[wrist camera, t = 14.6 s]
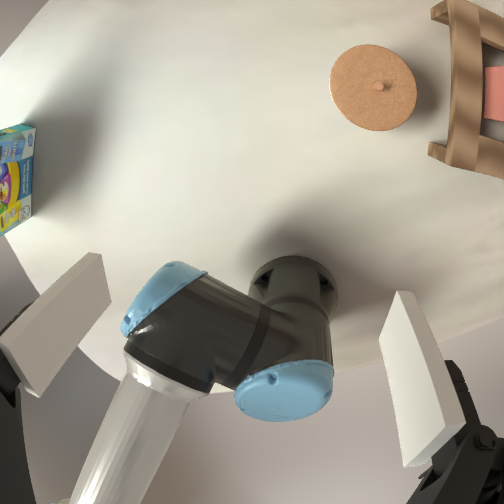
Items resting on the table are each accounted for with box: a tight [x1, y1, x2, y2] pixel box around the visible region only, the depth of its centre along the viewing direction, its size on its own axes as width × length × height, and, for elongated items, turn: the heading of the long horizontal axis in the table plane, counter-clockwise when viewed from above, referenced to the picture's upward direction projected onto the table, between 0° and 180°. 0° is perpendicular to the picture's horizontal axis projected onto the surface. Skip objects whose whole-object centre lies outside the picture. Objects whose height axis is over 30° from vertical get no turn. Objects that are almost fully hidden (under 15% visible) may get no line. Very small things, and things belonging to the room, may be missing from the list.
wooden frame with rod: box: [428, 0, 504, 179], centre depth 26 cm, size 24×18×10 cm
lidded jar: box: [329, 45, 417, 131], centre depth 31 cm, size 11×11×9 cm
